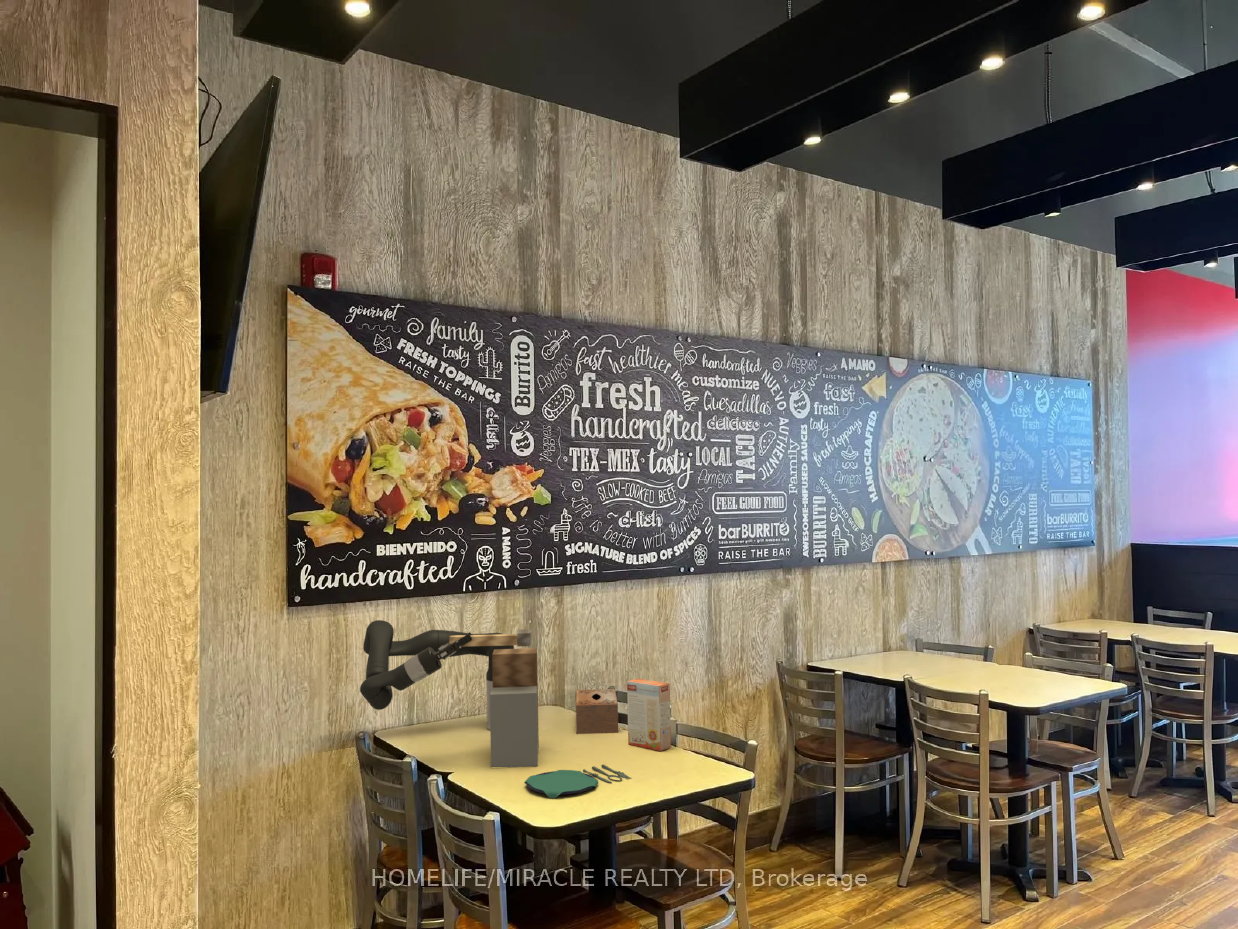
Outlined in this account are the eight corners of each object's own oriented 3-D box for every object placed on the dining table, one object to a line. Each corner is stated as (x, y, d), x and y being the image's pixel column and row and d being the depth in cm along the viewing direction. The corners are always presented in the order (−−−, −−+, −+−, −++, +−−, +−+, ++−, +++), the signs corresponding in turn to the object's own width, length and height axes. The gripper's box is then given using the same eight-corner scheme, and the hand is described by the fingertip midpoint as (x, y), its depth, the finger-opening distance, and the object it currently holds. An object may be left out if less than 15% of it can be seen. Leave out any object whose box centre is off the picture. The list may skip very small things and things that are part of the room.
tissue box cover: (618, 733, 310) (617, 704, 310) (576, 734, 309) (575, 705, 310) (615, 716, 336) (614, 688, 336) (576, 717, 335) (576, 690, 335)
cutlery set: (513, 785, 255) (513, 777, 255) (601, 767, 272) (601, 760, 272) (548, 805, 238) (548, 796, 238) (640, 784, 255) (640, 776, 255)
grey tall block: (490, 768, 271) (489, 694, 272) (493, 758, 281) (492, 687, 282) (537, 766, 272) (536, 693, 273) (538, 757, 282) (536, 686, 283)
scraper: (448, 648, 275) (448, 635, 275) (451, 644, 283) (451, 631, 283) (530, 646, 277) (530, 633, 277) (531, 642, 285) (531, 629, 285)
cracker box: (672, 748, 289) (670, 682, 290) (660, 752, 285) (658, 685, 286) (639, 741, 299) (638, 677, 300) (627, 744, 294) (626, 680, 295)
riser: (493, 757, 283) (492, 654, 284) (495, 748, 293) (494, 649, 294) (538, 755, 284) (536, 653, 285) (538, 746, 294) (537, 648, 295)
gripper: (432, 671, 285) (479, 642, 287) (425, 680, 271) (475, 650, 273) (420, 650, 286) (467, 622, 287) (412, 658, 272) (462, 628, 273)
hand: (470, 636), depth 280 cm, fingers closed on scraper, 3 cm apart
